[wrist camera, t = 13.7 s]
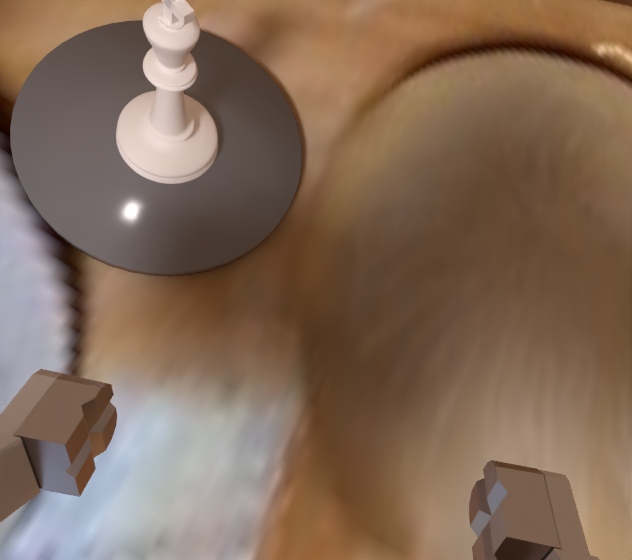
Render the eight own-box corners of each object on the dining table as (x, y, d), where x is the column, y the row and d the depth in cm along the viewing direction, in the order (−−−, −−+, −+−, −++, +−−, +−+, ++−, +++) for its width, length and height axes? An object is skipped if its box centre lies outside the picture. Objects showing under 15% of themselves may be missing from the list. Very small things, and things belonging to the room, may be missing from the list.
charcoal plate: (303, 62, 31) (306, 53, 30) (292, 290, 27) (296, 286, 26) (43, 4, 27) (40, -9, 26) (-14, 257, 23) (-20, 251, 22)
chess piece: (160, 202, 25) (160, 69, 16) (94, 126, 25) (57, -50, 16) (237, 151, 27) (278, 6, 18) (176, 81, 27) (184, -100, 18)
